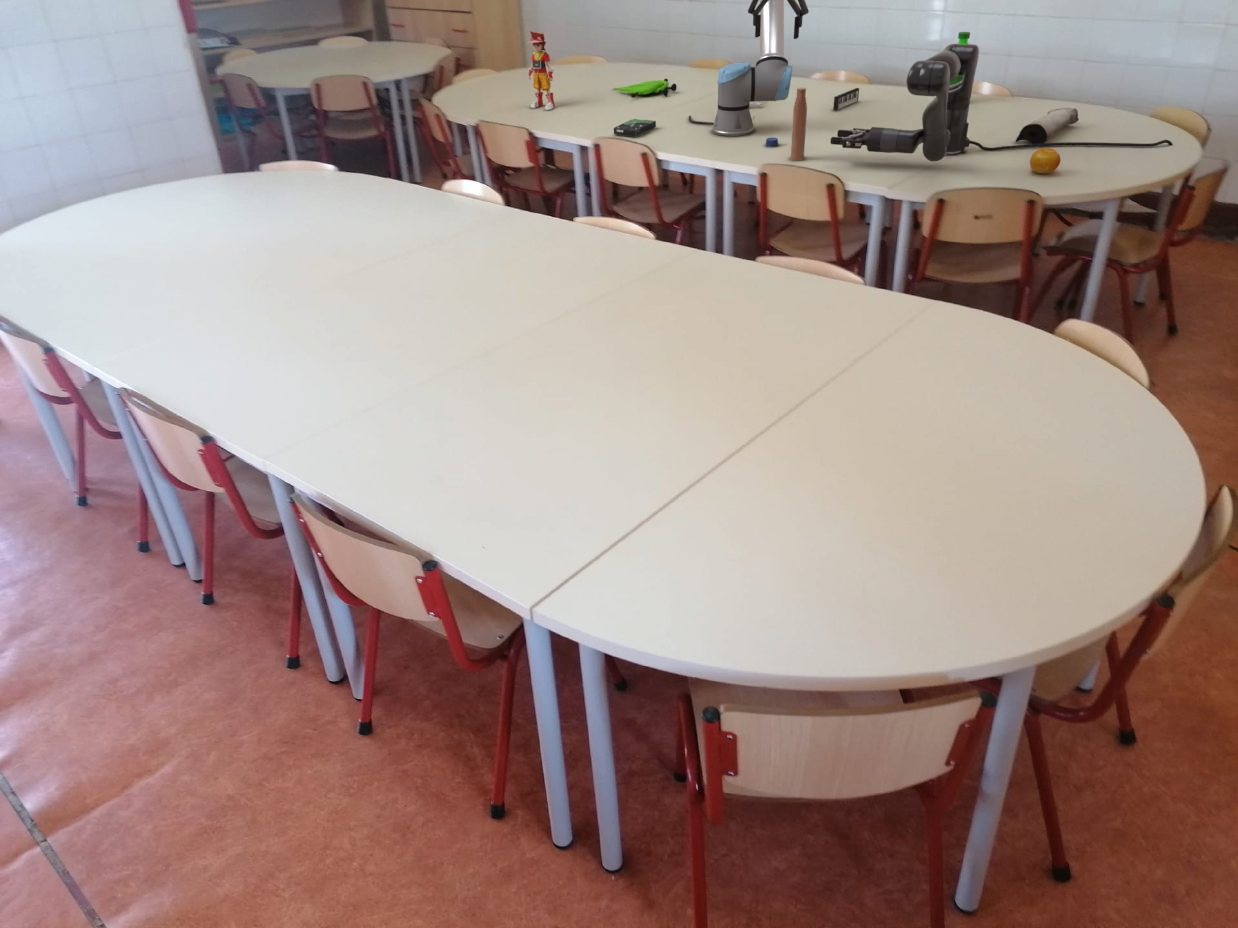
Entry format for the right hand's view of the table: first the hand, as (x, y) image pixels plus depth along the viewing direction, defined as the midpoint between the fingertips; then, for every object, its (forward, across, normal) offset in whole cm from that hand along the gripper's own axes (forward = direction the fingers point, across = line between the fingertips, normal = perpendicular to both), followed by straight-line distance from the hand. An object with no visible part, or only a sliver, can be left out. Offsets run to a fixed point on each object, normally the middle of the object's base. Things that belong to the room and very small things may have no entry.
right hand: (834, 137), depth 295 cm
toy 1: (+136, -42, +8) cm, 143 cm away
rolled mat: (-63, -50, +9) cm, 80 cm away
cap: (+25, -13, +6) cm, 29 cm away
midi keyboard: (+14, -73, +9) cm, 75 cm away
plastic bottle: (-26, -89, +9) cm, 93 cm away
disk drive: (+81, -17, +8) cm, 83 cm away
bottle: (+12, 0, +8) cm, 14 cm away
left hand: (+25, -13, -27) cm, 39 cm away
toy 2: (+106, -78, +9) cm, 132 cm away
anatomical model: (+53, -67, +9) cm, 86 cm away
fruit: (-65, -5, +8) cm, 66 cm away
